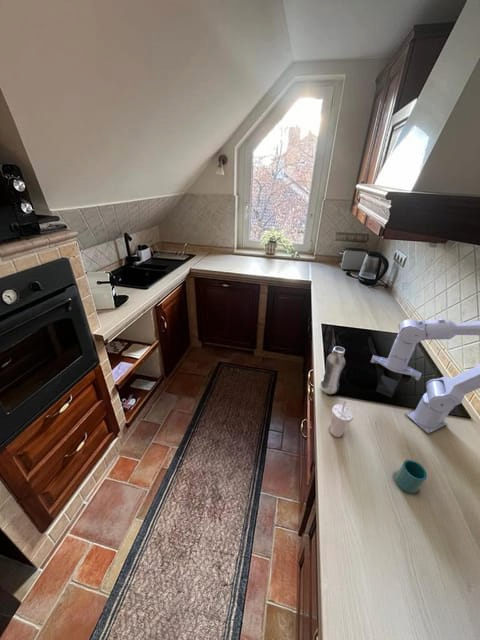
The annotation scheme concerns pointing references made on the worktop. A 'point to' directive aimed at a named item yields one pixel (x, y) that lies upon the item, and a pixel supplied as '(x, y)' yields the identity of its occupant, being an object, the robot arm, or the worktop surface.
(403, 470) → the teal cup
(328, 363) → the plastic bottle
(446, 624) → the worktop surface
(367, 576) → the worktop surface
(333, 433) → the smoothie
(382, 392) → the black tile
